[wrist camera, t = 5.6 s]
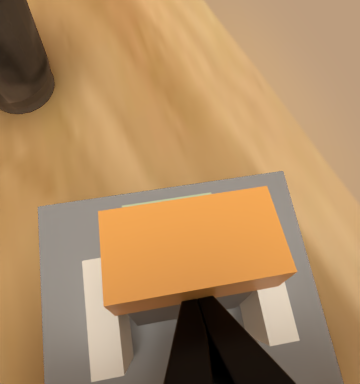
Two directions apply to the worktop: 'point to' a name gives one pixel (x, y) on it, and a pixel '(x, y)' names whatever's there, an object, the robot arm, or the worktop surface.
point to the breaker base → (164, 331)
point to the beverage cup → (22, 60)
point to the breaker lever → (191, 253)
